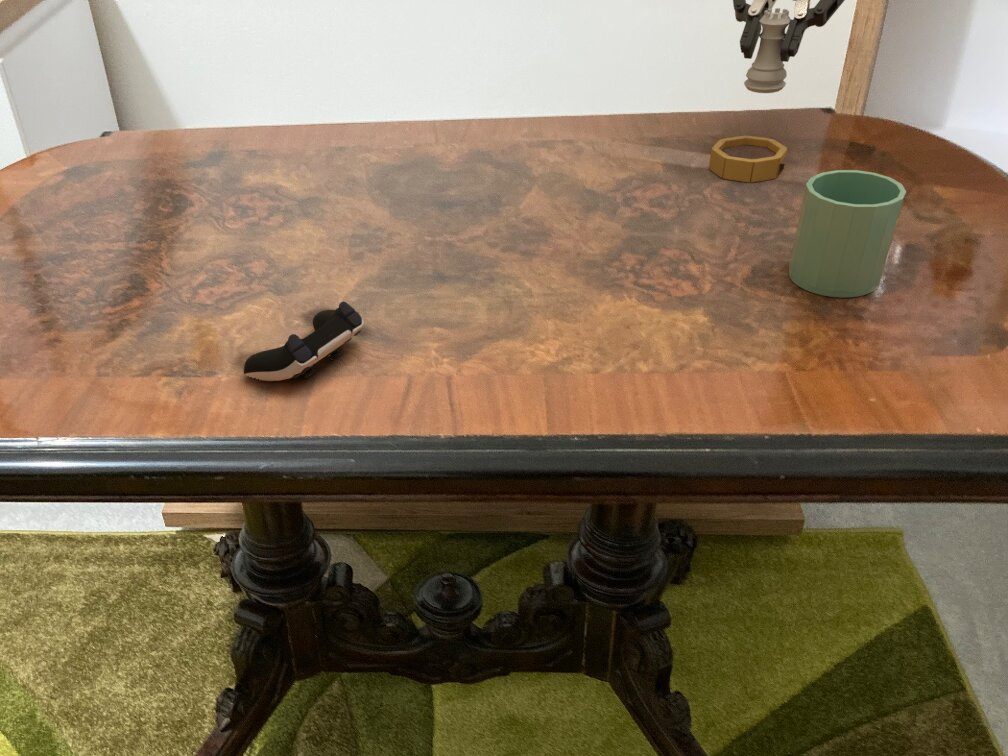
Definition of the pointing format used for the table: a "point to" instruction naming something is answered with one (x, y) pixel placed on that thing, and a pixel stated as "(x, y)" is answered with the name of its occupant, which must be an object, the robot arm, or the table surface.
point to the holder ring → (747, 160)
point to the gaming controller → (307, 346)
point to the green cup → (845, 232)
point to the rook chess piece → (769, 54)
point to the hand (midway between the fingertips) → (765, 55)
